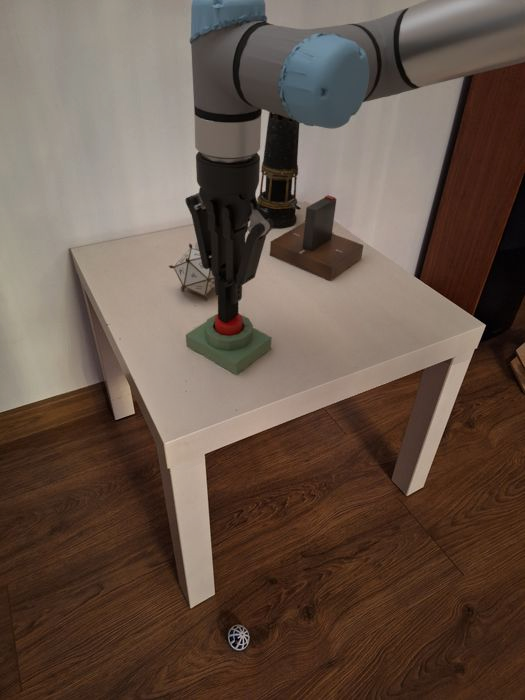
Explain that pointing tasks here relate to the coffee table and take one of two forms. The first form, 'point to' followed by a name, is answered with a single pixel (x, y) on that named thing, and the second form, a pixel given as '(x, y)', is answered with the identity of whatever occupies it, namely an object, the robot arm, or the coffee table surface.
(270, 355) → the coffee table surface
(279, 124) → the lantern
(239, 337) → the button block
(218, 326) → the button
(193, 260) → the game die
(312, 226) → the dark grey block
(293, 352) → the coffee table surface
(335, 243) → the block
